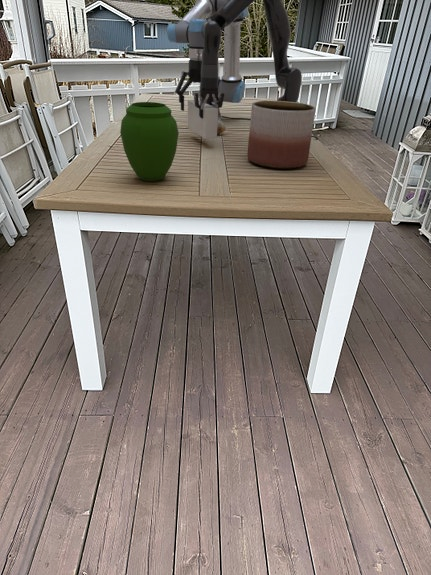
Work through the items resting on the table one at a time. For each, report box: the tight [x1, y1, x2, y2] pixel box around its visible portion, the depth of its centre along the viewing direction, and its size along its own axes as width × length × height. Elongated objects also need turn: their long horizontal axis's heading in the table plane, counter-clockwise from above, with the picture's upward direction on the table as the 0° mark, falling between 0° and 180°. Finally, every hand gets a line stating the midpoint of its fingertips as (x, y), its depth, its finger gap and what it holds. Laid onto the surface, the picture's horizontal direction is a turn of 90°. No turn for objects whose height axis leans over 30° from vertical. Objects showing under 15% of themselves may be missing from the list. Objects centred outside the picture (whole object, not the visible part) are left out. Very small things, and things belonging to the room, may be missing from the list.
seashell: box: [217, 118, 227, 135], centre depth 211 cm, size 10×6×8 cm, turn 97°
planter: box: [246, 100, 317, 170], centre depth 167 cm, size 25×25×22 cm
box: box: [187, 99, 218, 140], centre depth 191 cm, size 24×6×13 cm, turn 22°
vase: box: [119, 101, 179, 182], centre depth 140 cm, size 20×20×24 cm
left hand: (195, 110), depth 196 cm, fingers open, 13 cm apart
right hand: (208, 117), depth 184 cm, fingers closed on box, 5 cm apart
